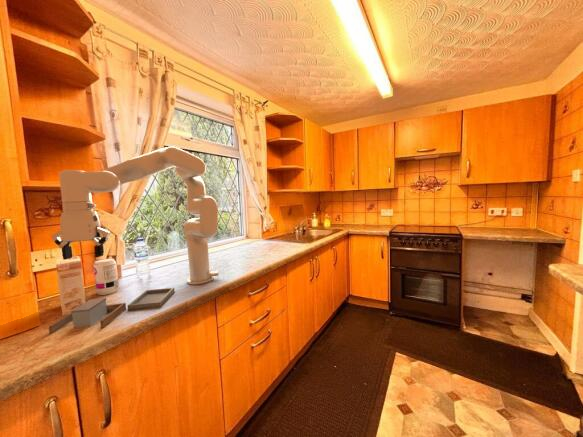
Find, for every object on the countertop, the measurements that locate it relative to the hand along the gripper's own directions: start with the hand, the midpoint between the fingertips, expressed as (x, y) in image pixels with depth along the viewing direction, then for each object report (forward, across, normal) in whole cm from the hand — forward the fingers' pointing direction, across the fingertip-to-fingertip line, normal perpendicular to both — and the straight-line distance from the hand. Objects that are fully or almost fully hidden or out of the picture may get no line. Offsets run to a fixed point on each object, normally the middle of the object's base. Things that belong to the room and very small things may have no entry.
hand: (83, 257), depth 81 cm
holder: (+22, 0, 0) cm, 22 cm away
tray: (+22, -15, -13) cm, 30 cm away
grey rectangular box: (+22, 0, 0) cm, 23 cm away
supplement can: (+22, +11, -29) cm, 38 cm away
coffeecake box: (+23, +15, -14) cm, 30 cm away
